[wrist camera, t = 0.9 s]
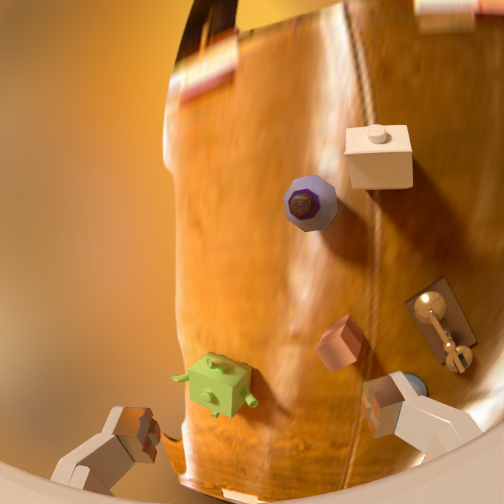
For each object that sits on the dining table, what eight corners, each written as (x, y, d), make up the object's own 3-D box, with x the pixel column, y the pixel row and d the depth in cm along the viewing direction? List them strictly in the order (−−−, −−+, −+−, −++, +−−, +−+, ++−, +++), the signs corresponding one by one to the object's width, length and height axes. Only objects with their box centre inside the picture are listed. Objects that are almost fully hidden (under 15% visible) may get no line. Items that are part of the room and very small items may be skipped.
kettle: (195, 357, 69) (166, 379, 59) (231, 332, 63) (201, 356, 53) (233, 404, 67) (208, 431, 57) (274, 385, 61) (250, 416, 51)
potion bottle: (327, 166, 47) (307, 159, 37) (356, 210, 47) (345, 215, 36) (287, 194, 52) (257, 196, 41) (314, 237, 51) (291, 249, 40)
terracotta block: (349, 313, 50) (340, 335, 42) (364, 335, 50) (357, 360, 42) (327, 326, 53) (314, 349, 45) (341, 347, 52) (330, 373, 44)
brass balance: (437, 266, 42) (448, 286, 32) (478, 345, 40) (491, 378, 30) (399, 293, 46) (399, 318, 36) (442, 367, 43) (447, 403, 34)
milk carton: (406, 188, 42) (415, 186, 26) (364, 189, 45) (347, 188, 29) (402, 144, 41) (407, 115, 24) (360, 146, 44) (340, 120, 28)
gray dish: (413, 363, 46) (413, 365, 45) (434, 401, 45) (434, 404, 44) (363, 387, 51) (363, 390, 51) (387, 422, 50) (387, 425, 49)
